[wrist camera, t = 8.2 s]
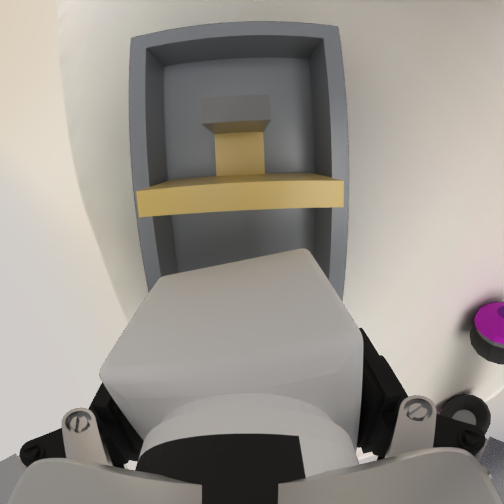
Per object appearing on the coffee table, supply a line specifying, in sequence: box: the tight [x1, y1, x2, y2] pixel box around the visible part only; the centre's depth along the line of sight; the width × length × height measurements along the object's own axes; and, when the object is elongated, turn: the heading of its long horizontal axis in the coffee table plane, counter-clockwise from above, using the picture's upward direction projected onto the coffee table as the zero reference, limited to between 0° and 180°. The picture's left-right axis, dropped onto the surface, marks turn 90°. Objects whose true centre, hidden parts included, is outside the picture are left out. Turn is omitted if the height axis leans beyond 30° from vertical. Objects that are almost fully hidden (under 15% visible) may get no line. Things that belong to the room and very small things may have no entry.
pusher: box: [136, 95, 344, 217], centre depth 15 cm, size 5×9×7 cm, turn 92°
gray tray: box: [129, 21, 349, 301], centre depth 18 cm, size 21×12×5 cm, turn 2°
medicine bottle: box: [99, 248, 363, 504], centre depth 8 cm, size 7×7×12 cm
